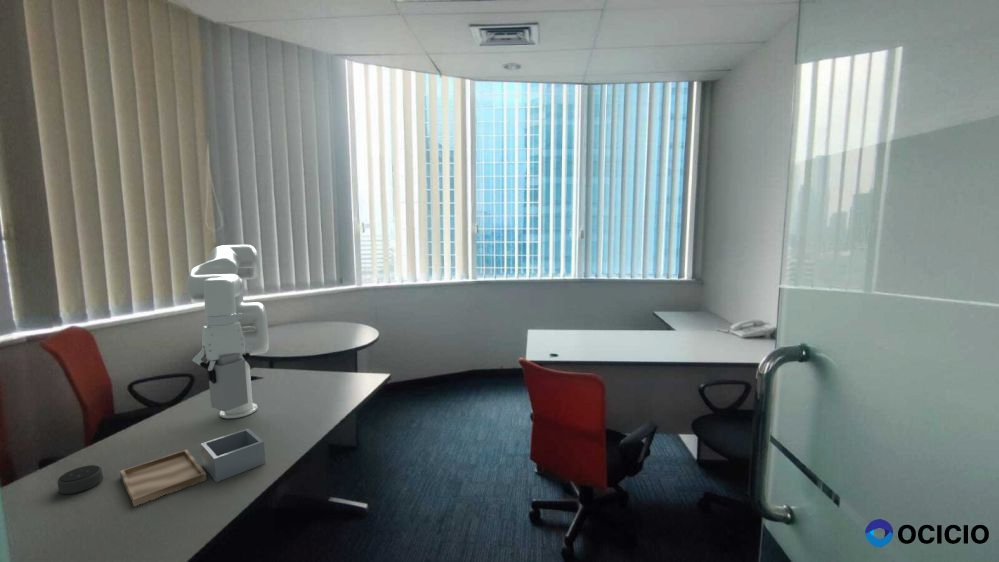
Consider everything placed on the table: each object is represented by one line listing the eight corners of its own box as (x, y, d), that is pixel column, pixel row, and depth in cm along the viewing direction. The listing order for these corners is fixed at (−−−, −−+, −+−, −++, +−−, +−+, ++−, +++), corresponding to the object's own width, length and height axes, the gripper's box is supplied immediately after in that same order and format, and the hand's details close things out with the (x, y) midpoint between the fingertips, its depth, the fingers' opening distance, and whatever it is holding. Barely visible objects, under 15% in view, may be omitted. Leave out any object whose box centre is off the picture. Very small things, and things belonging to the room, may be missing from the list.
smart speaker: (62, 484, 121) (60, 470, 121) (104, 473, 126) (103, 460, 126) (55, 500, 114) (53, 486, 114) (100, 488, 119) (99, 474, 119)
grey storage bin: (202, 465, 130) (200, 443, 129) (249, 448, 140) (248, 428, 139) (216, 482, 122) (214, 458, 121) (265, 463, 132) (263, 441, 131)
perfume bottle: (248, 402, 130) (243, 345, 128) (225, 411, 124) (220, 351, 122) (234, 398, 133) (229, 342, 131) (211, 407, 127) (205, 348, 125)
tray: (120, 477, 124) (120, 470, 124) (187, 455, 136) (186, 449, 136) (134, 506, 111) (133, 499, 111) (206, 479, 123) (205, 473, 123)
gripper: (249, 313, 134) (253, 368, 137) (182, 323, 121) (188, 383, 124) (258, 317, 129) (263, 374, 132) (189, 327, 116) (196, 390, 119)
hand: (226, 378), depth 128 cm, fingers closed on perfume bottle, 6 cm apart
